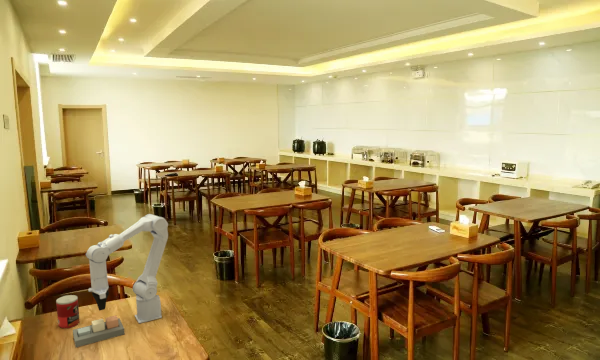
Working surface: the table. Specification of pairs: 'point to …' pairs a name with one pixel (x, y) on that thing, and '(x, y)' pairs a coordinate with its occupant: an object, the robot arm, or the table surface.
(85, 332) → the key slate
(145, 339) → the table surface
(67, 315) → the canned food
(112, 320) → the key terracotta
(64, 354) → the table surface
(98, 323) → the key ivory
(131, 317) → the table surface
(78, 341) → the keypad base
